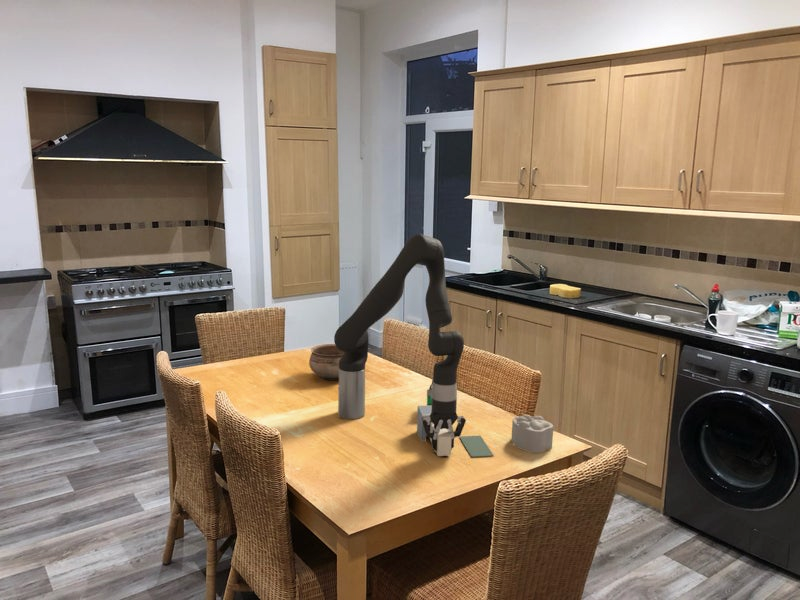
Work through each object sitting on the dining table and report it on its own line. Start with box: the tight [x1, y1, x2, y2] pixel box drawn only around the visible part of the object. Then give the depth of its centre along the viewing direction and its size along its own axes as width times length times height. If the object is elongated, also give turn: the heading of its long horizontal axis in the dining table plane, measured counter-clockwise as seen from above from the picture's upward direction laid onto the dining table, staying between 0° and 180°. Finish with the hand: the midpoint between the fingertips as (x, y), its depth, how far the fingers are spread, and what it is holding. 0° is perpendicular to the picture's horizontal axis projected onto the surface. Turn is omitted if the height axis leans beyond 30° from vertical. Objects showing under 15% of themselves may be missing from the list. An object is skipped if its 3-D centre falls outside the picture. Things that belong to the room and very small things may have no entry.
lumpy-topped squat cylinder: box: [510, 414, 554, 454], centre depth 204 cm, size 10×13×9 cm
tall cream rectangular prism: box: [429, 422, 452, 457], centre depth 198 cm, size 4×12×6 cm, turn 9°
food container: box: [426, 379, 433, 405], centre depth 230 cm, size 12×6×10 cm, turn 168°
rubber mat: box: [459, 435, 495, 459], centre depth 202 cm, size 7×15×1 cm, turn 9°
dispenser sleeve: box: [416, 404, 448, 442], centre depth 208 cm, size 9×9×9 cm
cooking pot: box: [308, 343, 344, 381], centre depth 265 cm, size 25×19×12 cm
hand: (442, 449), depth 196 cm, fingers closed on tall cream rectangular prism, 4 cm apart
